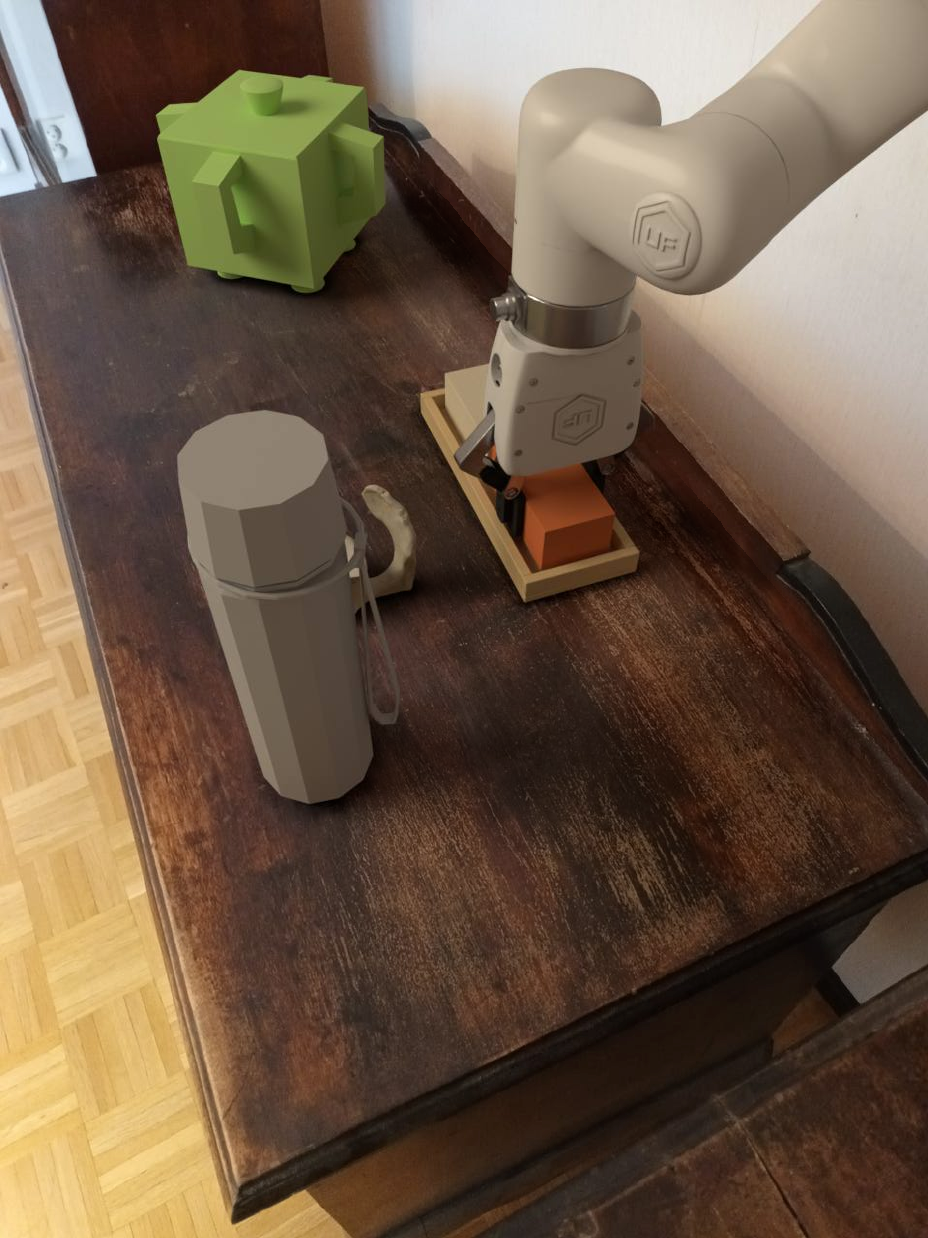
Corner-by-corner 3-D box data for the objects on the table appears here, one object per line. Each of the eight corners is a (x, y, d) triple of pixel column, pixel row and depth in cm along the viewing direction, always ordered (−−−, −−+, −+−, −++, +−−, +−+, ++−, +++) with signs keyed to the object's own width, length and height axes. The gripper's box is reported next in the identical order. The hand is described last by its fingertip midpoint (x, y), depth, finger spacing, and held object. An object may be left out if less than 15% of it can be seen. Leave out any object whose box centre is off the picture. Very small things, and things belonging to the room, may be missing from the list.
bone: (268, 603, 65) (295, 468, 61) (308, 580, 71) (335, 455, 67) (379, 645, 63) (413, 508, 60) (410, 618, 69) (443, 492, 66)
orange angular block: (608, 552, 69) (615, 513, 66) (540, 571, 67) (544, 532, 64) (554, 468, 75) (558, 429, 71) (490, 484, 73) (492, 444, 70)
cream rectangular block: (548, 468, 76) (552, 429, 73) (486, 484, 74) (487, 445, 71) (503, 398, 82) (505, 359, 79) (445, 411, 80) (444, 372, 77)
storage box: (340, 340, 88) (319, 156, 75) (132, 299, 93) (78, 119, 79) (426, 218, 103) (422, 47, 90) (244, 188, 108) (214, 21, 95)
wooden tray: (636, 571, 69) (640, 552, 68) (524, 603, 67) (526, 583, 66) (516, 391, 83) (517, 371, 82) (420, 412, 81) (420, 393, 80)
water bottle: (250, 813, 56) (142, 517, 37) (271, 706, 61) (186, 397, 42) (400, 818, 56) (371, 523, 37) (409, 710, 61) (387, 401, 42)
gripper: (461, 363, 53) (460, 576, 67) (723, 306, 56) (670, 519, 70) (419, 295, 57) (426, 509, 71) (665, 247, 61) (626, 459, 75)
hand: (548, 512), depth 71 cm, fingers closed on orange angular block, 5 cm apart
